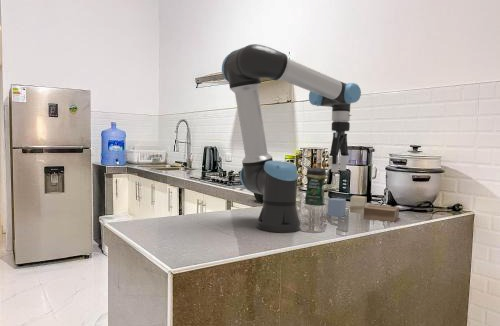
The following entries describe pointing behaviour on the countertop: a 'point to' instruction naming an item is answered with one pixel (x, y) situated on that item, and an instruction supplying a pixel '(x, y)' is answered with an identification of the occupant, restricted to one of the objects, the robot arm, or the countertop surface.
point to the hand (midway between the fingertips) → (338, 171)
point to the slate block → (336, 207)
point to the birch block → (358, 204)
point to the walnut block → (381, 213)
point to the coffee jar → (315, 186)
